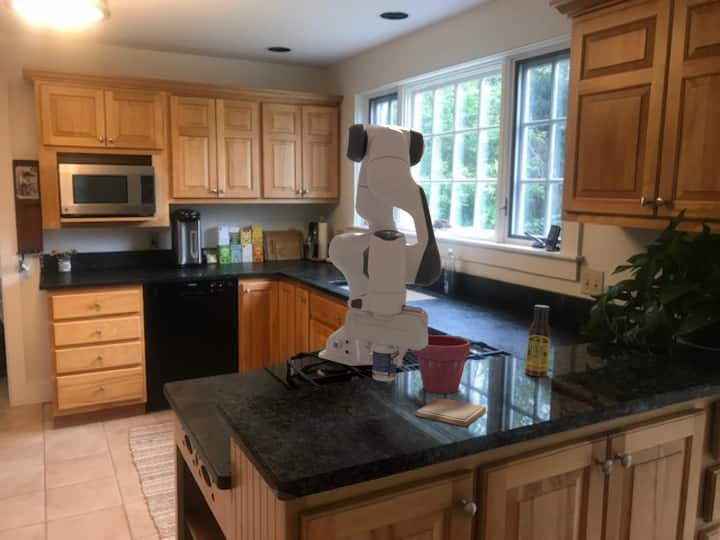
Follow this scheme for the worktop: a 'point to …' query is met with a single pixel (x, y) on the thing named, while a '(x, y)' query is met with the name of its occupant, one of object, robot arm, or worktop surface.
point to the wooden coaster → (451, 411)
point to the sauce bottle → (538, 343)
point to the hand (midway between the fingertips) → (384, 362)
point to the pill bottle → (384, 361)
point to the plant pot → (443, 363)
